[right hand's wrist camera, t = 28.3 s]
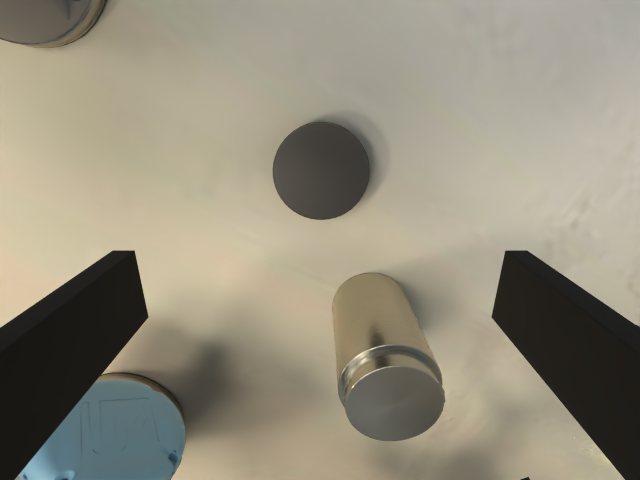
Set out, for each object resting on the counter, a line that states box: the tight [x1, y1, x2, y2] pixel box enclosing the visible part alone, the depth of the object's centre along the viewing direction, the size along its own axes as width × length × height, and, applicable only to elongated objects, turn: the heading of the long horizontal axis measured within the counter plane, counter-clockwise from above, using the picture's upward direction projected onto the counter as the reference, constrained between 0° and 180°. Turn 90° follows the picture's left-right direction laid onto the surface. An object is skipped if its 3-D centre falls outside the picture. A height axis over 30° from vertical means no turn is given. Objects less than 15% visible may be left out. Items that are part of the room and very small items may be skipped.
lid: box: [273, 122, 369, 220], centre depth 36 cm, size 10×10×2 cm
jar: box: [333, 273, 445, 441], centre depth 36 cm, size 9×9×16 cm
